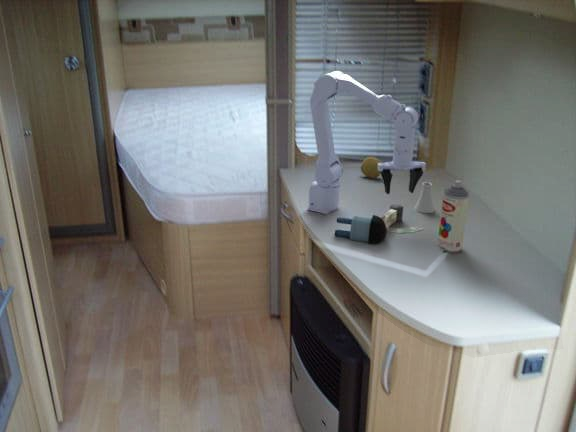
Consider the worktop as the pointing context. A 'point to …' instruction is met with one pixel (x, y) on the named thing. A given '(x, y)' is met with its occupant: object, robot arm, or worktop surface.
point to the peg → (393, 215)
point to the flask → (425, 199)
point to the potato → (370, 167)
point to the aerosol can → (453, 218)
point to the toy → (364, 229)
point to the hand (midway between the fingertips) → (399, 192)
